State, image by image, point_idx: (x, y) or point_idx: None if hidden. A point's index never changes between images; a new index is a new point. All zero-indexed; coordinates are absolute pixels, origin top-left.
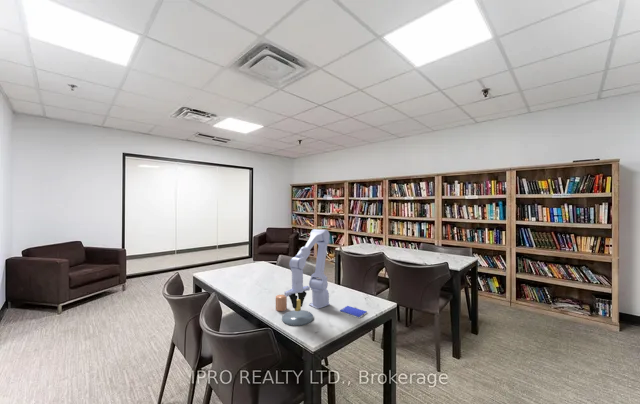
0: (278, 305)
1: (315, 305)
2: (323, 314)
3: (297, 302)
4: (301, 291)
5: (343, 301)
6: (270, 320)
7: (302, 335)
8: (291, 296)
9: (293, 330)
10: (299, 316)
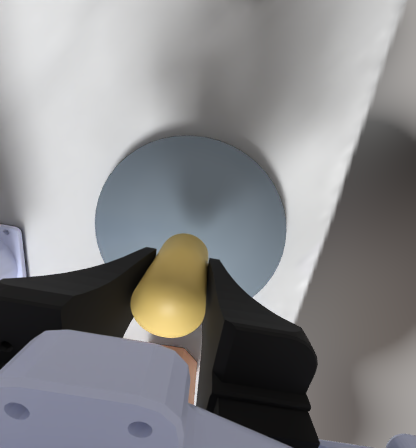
0: (192, 390)
1: (6, 257)
2: (37, 147)
3: (196, 278)
4: (116, 389)
5: None
6: (294, 320)
7: (344, 45)
8: (296, 394)
9: (319, 146)
10: (182, 230)
